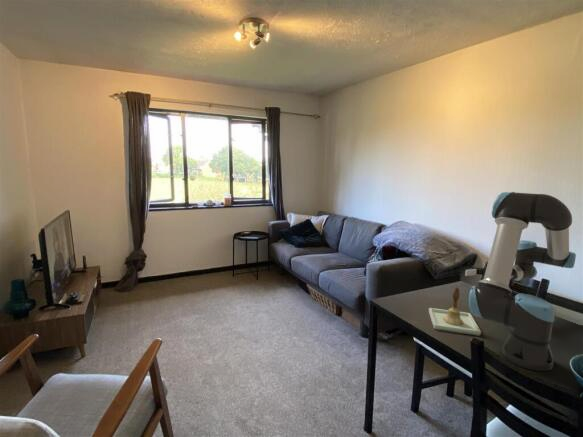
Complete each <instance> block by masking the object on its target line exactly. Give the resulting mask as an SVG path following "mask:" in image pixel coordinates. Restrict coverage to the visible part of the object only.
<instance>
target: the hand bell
mask: <svg viewBox="0 0 583 437" xmlns="http://www.w3.org/2000/svg"><path fill="white" fill-rule="evenodd" d="M459 299H460V289H459V287H454V290H453V292H452V301H453V302H452V307H450V308H448V310H449V311H448V314H447V315H446V316H445V317H444V318H443V320H444V321H445V322H446V323H449V324H452V325H463V321H462V320H461V318H460V312H461V311H460V310H459V309H458V308H457V307H458V300H459Z"/></svg>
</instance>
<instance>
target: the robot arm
mask: <svg viewBox="0 0 583 437" xmlns="http://www.w3.org/2000/svg"><path fill="white" fill-rule="evenodd" d="M491 216H492V218H493V219H494V223H496V225H497V227H496V229H495V230H496V231H495V234H494V237H493V242H492V246H491V250H490V253H489V258H488V261H487V264H486V268H485V267H472V266H471V268H470V269H466V270H465V272H464V277H465V276H466V277H468V276H469V277H470V276H477V275H478V276H479V275H480V276H483V278H482V279H481V280H479V281H478V282H477V285H472V286H471V287H470V288H471V289H470V290H469V294H468V308H469V312H470V314H471V315H473V316H476V317H478V318H480V319H482V320H487V321H490V322H493V323H496V324H499V325H502V326H506V327H509V328H510V334H509V335H508V336H507V339H506V340H505V342H504V343H503V345H502V350H501V352H502V355H503V357H504V358H506V359H507V360H508V361H510V362H511V363H513V364H515V365H517V366H519V367H522V368H525V369H527V370H530V371H532V370H533V371H537V372H548V371H551V370H552V369H553V366H554V357H553V353H552V349H551V345H550V344H551V338H552V332H553V331H552V330H553V324H554V322H555V307H554V306H553V305H552V304H551V303H550V302H549V301H547V300H545V299H544V298H541V297H539V296H536V295H533V294H529V293H526V294H525V293H522V292H521V293H517V294H516V295H515V296H514V295H512V292H513V290H512V289H511V288H510V287H512V286H514V283H517V281H528V280H532V279H534V278H536V276H537V274H538V271H537V268H536V266H535V265H534V263H539V264H544V265H550V266H554V267H560V268H566V269H572V268H574V267H575V263H576V257H577V254H576V252H572V251H570V227H571V225H572V223H573V215H572V213H571V211H570V209H569V208H568V206H567V205H566V204H565V203H564V202H563V201H561V200H560V199H558V198H556V197H554V196H552V195H549V194H545V193H528V192H515V191H511V192H509V191H505V192H501V193H500V194H498V195H497V196H496V197H495V200H494V202H493V204H492V210H491ZM530 223H531V224H541V226H543V228H544V231H545V241H546V247H543V246H542V247H541V246H538V245H537V242H535V241H532V240H523V239H522V240H521V237H522V233H523V231H524V230H525V229H527V228H529V224H530Z"/></svg>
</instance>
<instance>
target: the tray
mask: <svg viewBox="0 0 583 437" xmlns="http://www.w3.org/2000/svg"><path fill="white" fill-rule="evenodd" d="M448 311H449V309H441V308H433V307H429V308H428V314H429V316H430V320H431V323H432V326H433V329H434V330H437V331H443V332H449V333H456V334H457V333H458V334H465V335H472V336H479V337H481V334H482V330H481V329H480V327H479V325H478V324H477V322H476V321H475V319H474V317H473V316H472V315H473V314H472V313H471V312H465V311H460V318H461V320H462V321H463V325H452V324H449V323H446V322H445V321H444V320H443V318H444V317H445V316H446V315H447V314H448Z"/></svg>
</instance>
